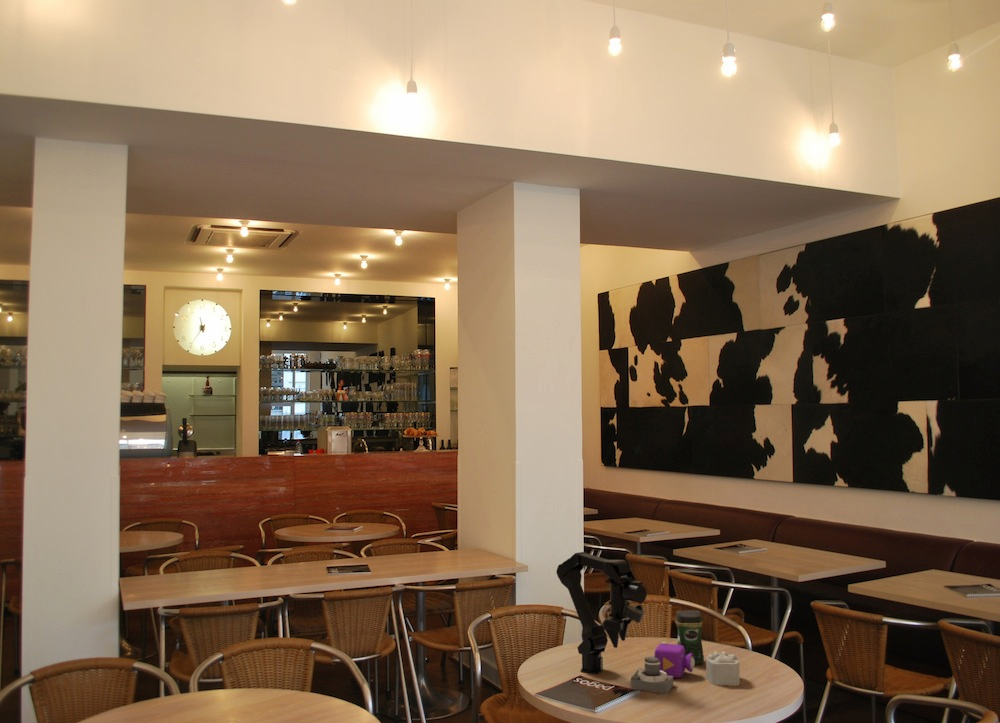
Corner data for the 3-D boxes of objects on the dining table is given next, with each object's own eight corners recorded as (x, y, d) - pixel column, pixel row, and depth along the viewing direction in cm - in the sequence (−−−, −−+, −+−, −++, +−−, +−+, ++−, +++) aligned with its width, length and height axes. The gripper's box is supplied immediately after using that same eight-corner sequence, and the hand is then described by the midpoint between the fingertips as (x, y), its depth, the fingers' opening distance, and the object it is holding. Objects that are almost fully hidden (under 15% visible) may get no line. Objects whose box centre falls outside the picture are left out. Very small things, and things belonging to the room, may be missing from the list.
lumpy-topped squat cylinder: (710, 685, 277) (710, 659, 278) (703, 673, 290) (702, 648, 291) (742, 686, 277) (741, 659, 277) (733, 673, 290) (732, 648, 290)
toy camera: (695, 680, 283) (694, 650, 283) (654, 678, 285) (654, 648, 286) (694, 670, 293) (694, 642, 294) (655, 668, 296) (654, 640, 296)
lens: (652, 681, 273) (652, 662, 273) (641, 677, 277) (641, 658, 277) (663, 678, 276) (663, 659, 276) (652, 674, 280) (652, 655, 280)
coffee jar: (701, 659, 307) (699, 608, 308) (705, 665, 299) (704, 613, 300) (674, 659, 307) (673, 608, 308) (678, 665, 299) (677, 613, 300)
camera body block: (631, 688, 275) (630, 674, 275) (638, 680, 283) (638, 667, 283) (667, 693, 270) (666, 679, 270) (673, 685, 278) (673, 671, 278)
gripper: (634, 605, 274) (635, 654, 273) (648, 594, 291) (649, 639, 290) (602, 602, 278) (602, 650, 277) (617, 591, 295) (618, 636, 294)
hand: (619, 644), depth 285 cm, fingers open, 9 cm apart
